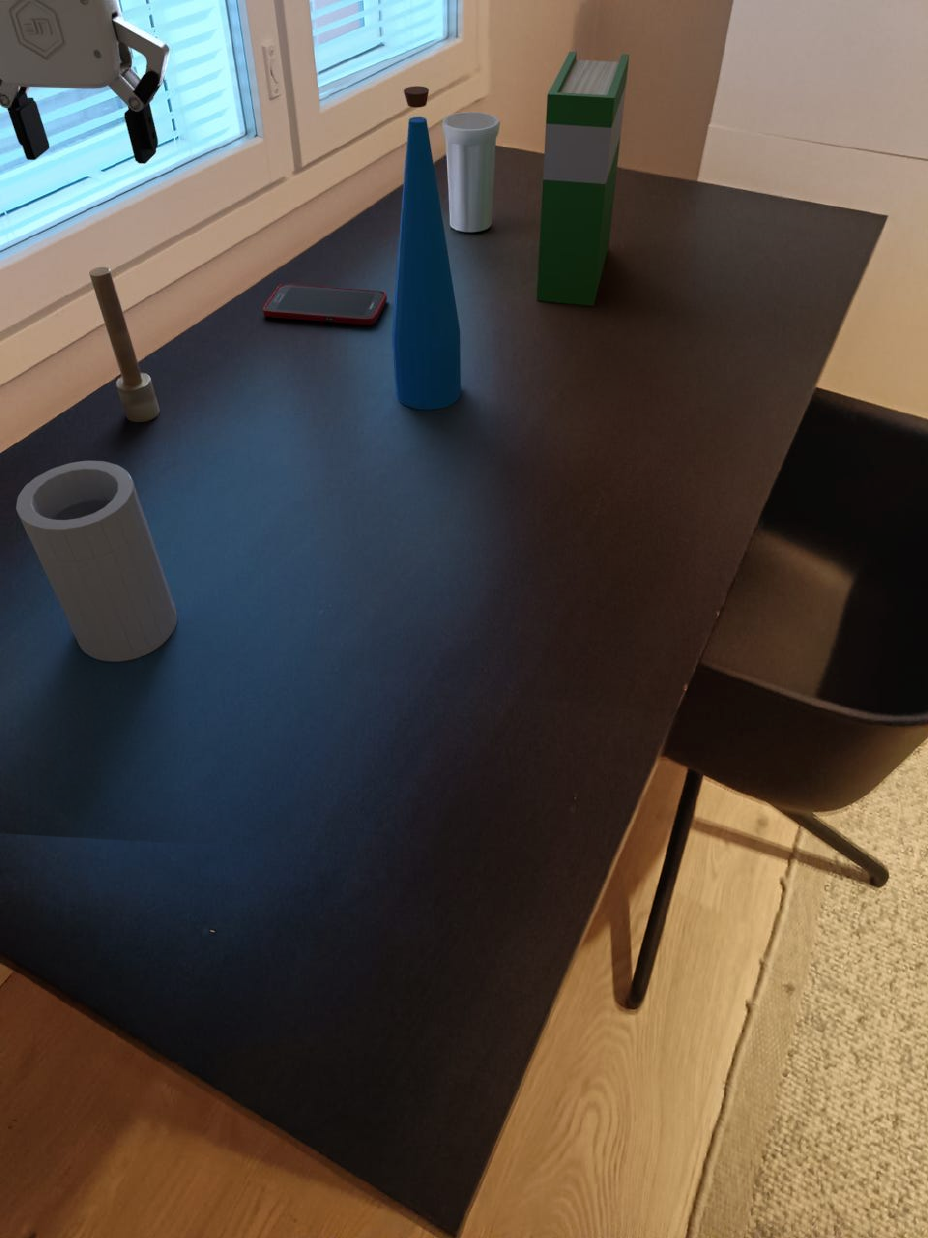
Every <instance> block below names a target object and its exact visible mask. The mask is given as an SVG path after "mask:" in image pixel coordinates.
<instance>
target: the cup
mask: <svg viewBox="0 0 928 1238" xmlns="http://www.w3.org/2000/svg"><path fill="white" fill-rule="evenodd" d="M440 126H441V132H442V134H443V138H444V140H445V152H446V153H445V154H446V169H447V173H446V174H447V186H448V187H447V189H448V190H447V191H448V210H449V213H448V214H449V225H450V228H451V229H453V230H455V231H457V232H462V233H479V232H483V231H486V230H488V229H489V228H491V226H492V224H493V221H492V218H493V203H494V202H493V199H494V183H495V180H494V179H495V178H494V177H495V164H496V163H495V162H496V161H495V160H496V144H497V137H498V135H499V132H500V126H501V122H500V119H498V117H497V116H494V115H492V114H490V113H485V112H480V111H466V112H457V113H452V114H449V115H447V116H445V117H444V118H443V120H441V123H440Z"/></svg>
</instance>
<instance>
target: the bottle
mask: <svg viewBox="0 0 928 1238" xmlns="http://www.w3.org/2000/svg"><path fill="white" fill-rule="evenodd" d="M429 92H430V89H429V88H428V87H426V86H415V85H414V86H409V87H405V88H404V89H403V93H404V96H405V101H406V104H407V107H409V108H414V109H415V108H416V109H417V108H419V109H420V108H425V107H426V106H427V103H428V99H429ZM406 139H407V140H406V148H405V149H406V150H405V161H404V175H403V185H402V201H401V212H400V226H399V238H398V252H397V265H396V277H395V278H396V279H395V289H394V300H393V301H394V303H393V314H392V315H393V316H392V327H391V329H392V331H391V345H392V359H393V372H394V386H395V395H396V399H397V400H398V401H399V402H400V403H401V404H403V405H404V406H407V407H409V408H411V409H415V410H421V411H433V410H438V409H444V408H446V407H450V406H451V405H453V404H454V403H455V402H457V401H458V400H459V398H460V397H461V391H462V371H461V368H462V367H461V365H462V363H461V361H462V360H461V359H462V358H461V326H460V320H459V315H458V309H457V301H456V296H455V290H454V283H453V277H452V270H451V264H450V258H449V251H448V245H447V240H446V233H445V227H444V226H445V225H444V221H443V214H442V207H441V201H440V195H439V189H438V182H437V176H436V171H435V170H436V169H435V164H434V157H433V151H432V145H431V138H430V132H429V126H428V120H427V118H426V117H425V116H424V117H423V116H412V117H410V118H408V124H407V137H406Z"/></svg>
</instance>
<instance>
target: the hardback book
mask: <svg viewBox="0 0 928 1238" xmlns="http://www.w3.org/2000/svg"><path fill="white" fill-rule="evenodd" d="M577 55H578V52H577V51H569V52H568V54H567V55H566V57H565V60H564V62H563V63H562V65H561V66H560V69H559V71H558V72H557V74H556V77H555V79H554V81H553V83H552V84H551V87H550V88H549V90H548V92H547V97H546V118H545V134H544V135H545V136H544V152H543V153H544V154H543V155H544V156H543V173H542V193H541V194H542V195H541V208H540V209H541V212H540V228H539V230H540V231H539V249H538V264H537V265H538V266H537V284H536V301H537V302H539V301H540V302H549V303H558V304H559V303H560V304H569V305H579V306H590V307H591V306H592V307H593V306H595V305H594V304H595V302H596V297H597V294H598V290H599V286H600V282H601V278H602V275H603V271H604V267H605V263H606V259H607V256H608V251H609V246H610V238H611V237H610V235H611V228H612V219H613V209H614V200H615V191H616V183H617V182H616V180H617V174H618V173H617V171H618V165H619V164H618V162H619V154H620V153H619V152H620V144H621V136H622V127H623V126H622V125H623V116H624V108H625V107H624V106H625V99H626V89H627V80H628V71H629V61H630V54H625V53H624V54H623V53H622V54H621V56H620V58H619V61H614V60H613V61H611V60H595V59H593V60H591V59H577Z"/></svg>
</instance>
